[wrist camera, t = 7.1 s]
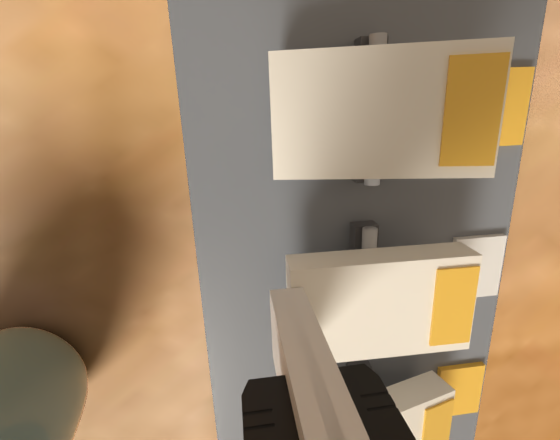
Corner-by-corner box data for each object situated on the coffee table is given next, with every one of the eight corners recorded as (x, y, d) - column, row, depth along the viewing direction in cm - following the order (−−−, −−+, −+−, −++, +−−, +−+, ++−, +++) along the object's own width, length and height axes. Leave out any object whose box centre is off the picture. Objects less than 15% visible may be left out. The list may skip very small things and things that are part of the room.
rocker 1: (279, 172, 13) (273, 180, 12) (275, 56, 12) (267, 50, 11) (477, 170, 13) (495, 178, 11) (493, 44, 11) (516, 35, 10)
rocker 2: (288, 344, 15) (293, 369, 13) (285, 254, 14) (290, 272, 12) (449, 328, 15) (470, 350, 14) (460, 241, 14) (484, 256, 13)
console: (224, 393, 24) (221, 506, 17) (187, 32, 18) (159, -17, 11) (420, 368, 26) (489, 464, 19) (454, 29, 19) (579, -16, 12)
